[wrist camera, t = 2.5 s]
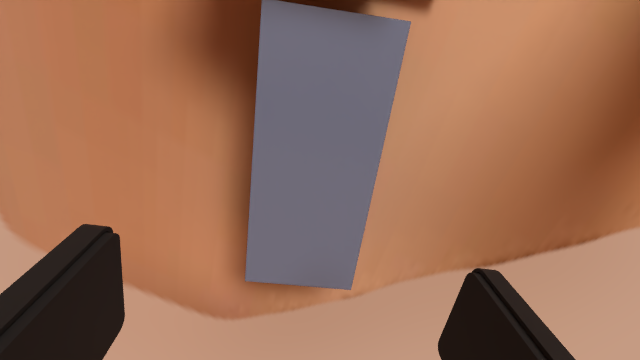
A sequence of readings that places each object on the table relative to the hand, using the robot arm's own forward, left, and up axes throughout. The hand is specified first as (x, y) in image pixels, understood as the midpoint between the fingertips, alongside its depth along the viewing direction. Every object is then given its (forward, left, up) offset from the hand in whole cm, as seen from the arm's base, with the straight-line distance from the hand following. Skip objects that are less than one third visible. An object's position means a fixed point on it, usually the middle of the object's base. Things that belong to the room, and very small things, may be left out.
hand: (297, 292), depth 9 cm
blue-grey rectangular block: (-1, 0, -13) cm, 13 cm away
